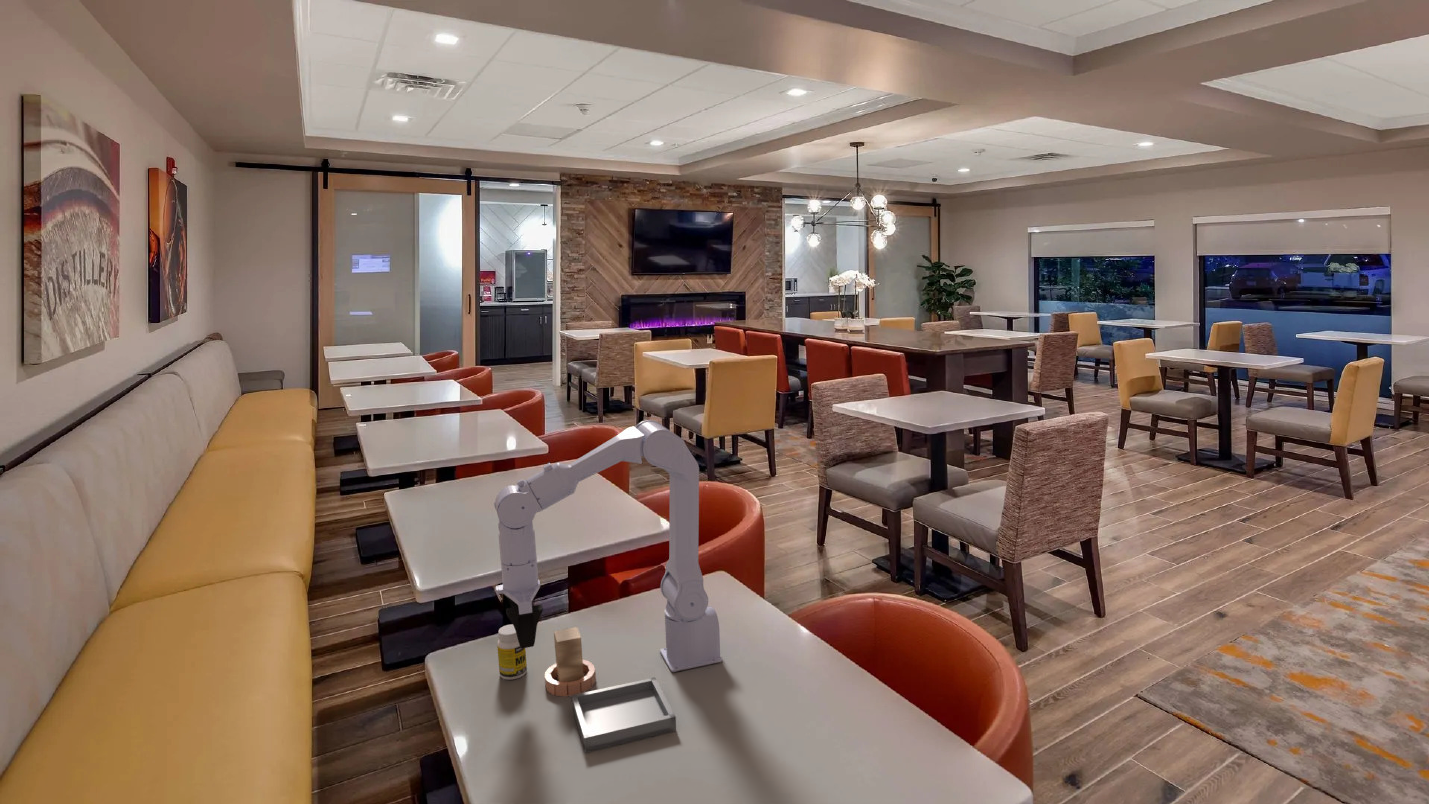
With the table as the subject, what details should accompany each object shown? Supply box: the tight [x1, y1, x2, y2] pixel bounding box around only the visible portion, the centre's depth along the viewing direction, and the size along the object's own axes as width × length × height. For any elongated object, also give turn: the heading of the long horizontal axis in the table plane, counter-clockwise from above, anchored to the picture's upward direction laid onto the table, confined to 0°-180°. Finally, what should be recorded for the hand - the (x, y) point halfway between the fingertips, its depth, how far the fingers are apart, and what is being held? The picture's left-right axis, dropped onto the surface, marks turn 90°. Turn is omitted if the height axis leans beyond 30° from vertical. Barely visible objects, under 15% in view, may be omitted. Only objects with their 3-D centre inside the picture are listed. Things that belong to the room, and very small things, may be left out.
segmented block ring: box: [544, 659, 597, 697], centre depth 129 cm, size 8×8×2 cm
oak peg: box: [553, 626, 585, 682], centre depth 128 cm, size 4×4×9 cm
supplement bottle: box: [496, 623, 528, 680], centre depth 132 cm, size 5×5×8 cm
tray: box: [570, 677, 677, 753], centre depth 118 cm, size 14×12×2 cm
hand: (525, 635), depth 125 cm, fingers open, 7 cm apart
